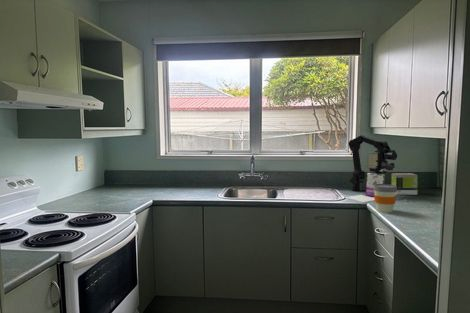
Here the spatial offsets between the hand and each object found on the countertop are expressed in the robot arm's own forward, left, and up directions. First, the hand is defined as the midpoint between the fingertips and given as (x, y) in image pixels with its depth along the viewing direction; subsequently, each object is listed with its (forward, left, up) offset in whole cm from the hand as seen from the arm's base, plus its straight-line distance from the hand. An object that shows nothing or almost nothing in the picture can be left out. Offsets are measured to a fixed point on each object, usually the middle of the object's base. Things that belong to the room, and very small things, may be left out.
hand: (381, 180), depth 236 cm
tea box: (-21, +4, -11) cm, 24 cm away
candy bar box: (+7, 0, -11) cm, 13 cm away
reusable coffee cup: (+34, +28, -11) cm, 45 cm away
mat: (+19, 0, -11) cm, 22 cm away
